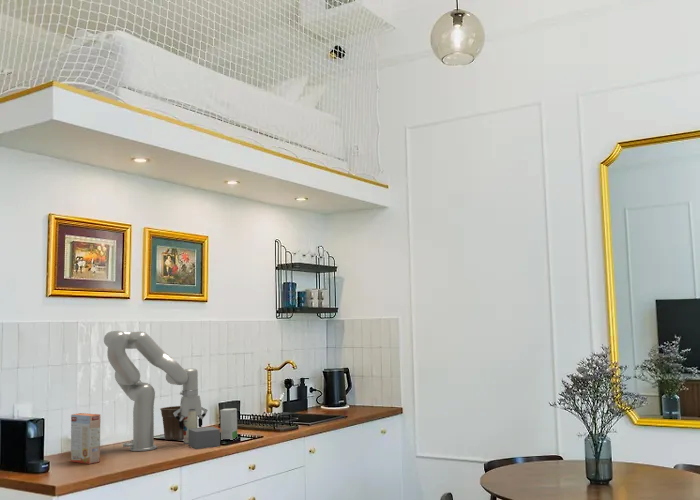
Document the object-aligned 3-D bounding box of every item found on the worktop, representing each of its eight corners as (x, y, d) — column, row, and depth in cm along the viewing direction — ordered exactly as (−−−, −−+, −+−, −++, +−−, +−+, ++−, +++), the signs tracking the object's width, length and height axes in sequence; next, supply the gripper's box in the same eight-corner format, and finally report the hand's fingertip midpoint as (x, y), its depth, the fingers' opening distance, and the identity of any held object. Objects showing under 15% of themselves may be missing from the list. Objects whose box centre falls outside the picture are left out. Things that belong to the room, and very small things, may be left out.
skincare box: (232, 441, 358) (231, 409, 360) (219, 441, 360) (219, 410, 361) (237, 438, 366) (237, 407, 368) (225, 438, 368) (225, 408, 369)
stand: (195, 449, 339) (195, 431, 339) (188, 445, 349) (188, 429, 350) (220, 446, 344) (219, 429, 345) (212, 442, 355) (212, 426, 356)
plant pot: (154, 439, 373) (154, 408, 374) (180, 435, 384) (180, 404, 386) (171, 442, 362) (171, 409, 363) (198, 437, 373) (197, 406, 375)
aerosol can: (182, 442, 358) (182, 402, 360) (196, 441, 361) (195, 401, 363) (185, 444, 352) (184, 403, 354) (198, 443, 355) (198, 402, 357)
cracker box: (101, 462, 312) (101, 413, 314) (88, 464, 307) (89, 415, 309) (82, 459, 320) (82, 412, 322) (70, 461, 315) (70, 413, 317)
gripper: (175, 395, 352) (175, 430, 350) (209, 392, 360) (209, 427, 358) (171, 394, 358) (171, 428, 356) (204, 391, 367) (205, 425, 365)
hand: (190, 427), depth 357 cm, fingers open, 9 cm apart
